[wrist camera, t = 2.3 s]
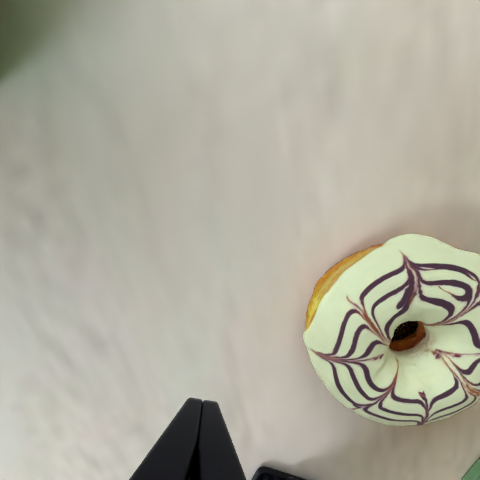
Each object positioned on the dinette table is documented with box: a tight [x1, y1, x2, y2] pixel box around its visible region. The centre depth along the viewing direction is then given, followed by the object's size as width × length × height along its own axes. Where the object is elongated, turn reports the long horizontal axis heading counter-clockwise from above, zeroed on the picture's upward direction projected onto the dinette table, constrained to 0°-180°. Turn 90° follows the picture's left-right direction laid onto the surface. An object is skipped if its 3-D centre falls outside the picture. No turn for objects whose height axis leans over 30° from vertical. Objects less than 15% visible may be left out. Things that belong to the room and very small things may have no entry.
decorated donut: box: [303, 234, 480, 426], centre depth 16 cm, size 10×11×4 cm
